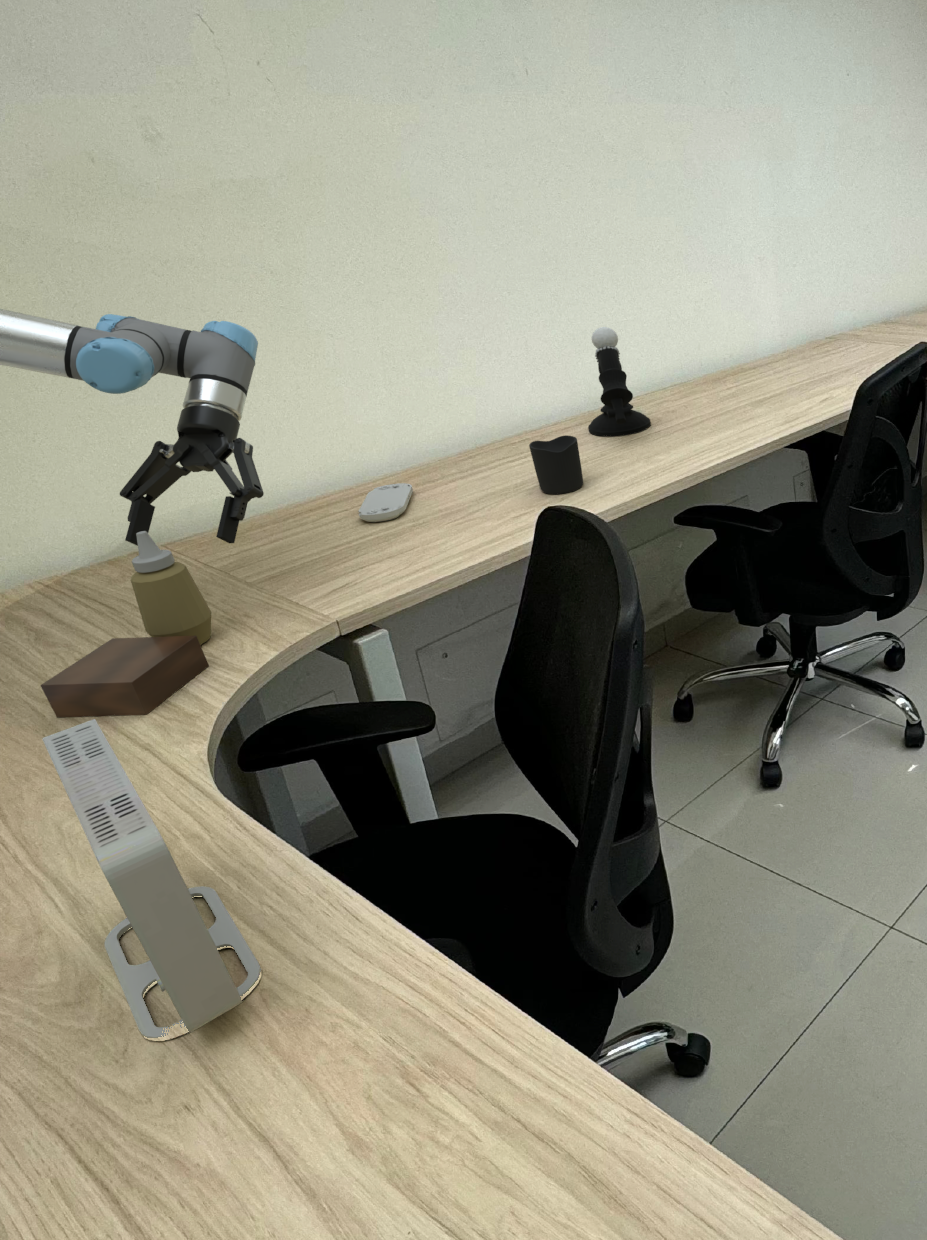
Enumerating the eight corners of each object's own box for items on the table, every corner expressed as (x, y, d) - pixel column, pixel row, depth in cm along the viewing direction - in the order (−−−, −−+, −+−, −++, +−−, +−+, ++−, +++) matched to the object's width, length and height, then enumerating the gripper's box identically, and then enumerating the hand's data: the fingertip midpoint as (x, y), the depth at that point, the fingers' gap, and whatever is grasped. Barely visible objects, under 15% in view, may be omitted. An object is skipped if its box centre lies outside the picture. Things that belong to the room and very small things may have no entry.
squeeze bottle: (226, 625, 141) (183, 517, 133) (212, 649, 134) (165, 537, 126) (165, 636, 138) (117, 527, 131) (147, 661, 131) (96, 548, 124)
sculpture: (647, 416, 239) (632, 319, 228) (658, 441, 219) (642, 336, 208) (587, 423, 235) (569, 325, 224) (592, 450, 214) (573, 343, 204)
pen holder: (572, 496, 187) (563, 449, 182) (530, 495, 188) (520, 449, 184) (593, 480, 195) (584, 435, 191) (552, 479, 197) (543, 435, 192)
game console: (401, 508, 177) (354, 514, 175) (404, 519, 178) (358, 526, 176) (413, 479, 193) (370, 484, 191) (416, 489, 194) (373, 495, 192)
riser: (56, 717, 119) (40, 685, 117) (126, 668, 130) (112, 638, 128) (146, 714, 119) (131, 682, 117) (209, 665, 130) (196, 635, 128)
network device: (284, 1006, 77) (199, 822, 69) (160, 1080, 71) (51, 889, 63) (200, 866, 93) (122, 702, 84) (93, 917, 87) (-2, 747, 78)
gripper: (305, 423, 146) (279, 547, 139) (152, 429, 146) (118, 553, 139) (274, 400, 139) (245, 529, 131) (113, 406, 139) (75, 535, 132)
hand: (180, 542), depth 135 cm, fingers open, 13 cm apart
